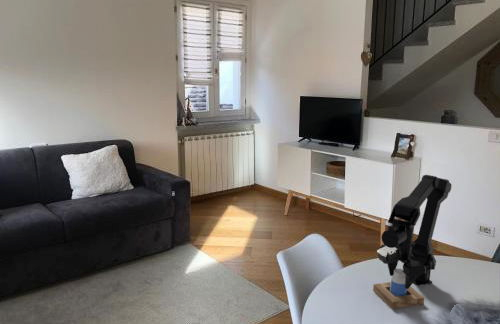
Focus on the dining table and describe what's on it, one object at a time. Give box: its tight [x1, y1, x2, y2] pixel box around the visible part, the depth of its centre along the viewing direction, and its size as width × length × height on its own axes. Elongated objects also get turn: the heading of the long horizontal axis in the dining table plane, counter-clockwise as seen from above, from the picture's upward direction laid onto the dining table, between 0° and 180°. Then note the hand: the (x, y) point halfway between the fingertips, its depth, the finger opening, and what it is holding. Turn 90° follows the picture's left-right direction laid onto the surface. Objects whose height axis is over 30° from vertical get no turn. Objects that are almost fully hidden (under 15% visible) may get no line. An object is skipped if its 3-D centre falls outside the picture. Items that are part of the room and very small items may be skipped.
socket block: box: [372, 281, 425, 310], centre depth 150 cm, size 12×12×2 cm
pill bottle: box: [390, 268, 407, 297], centre depth 149 cm, size 6×5×10 cm
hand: (399, 281), depth 149 cm, fingers open, 9 cm apart
